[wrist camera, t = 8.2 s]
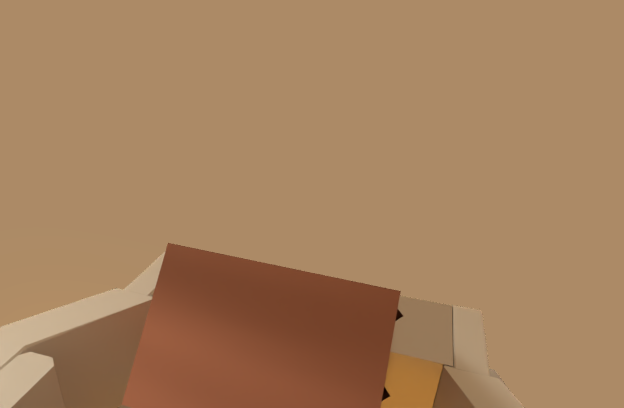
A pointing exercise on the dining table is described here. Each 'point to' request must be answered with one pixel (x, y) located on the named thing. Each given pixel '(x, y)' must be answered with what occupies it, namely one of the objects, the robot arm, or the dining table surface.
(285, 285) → the copper-colored stick
